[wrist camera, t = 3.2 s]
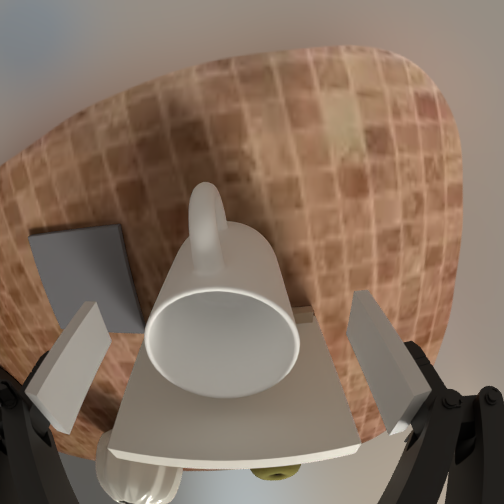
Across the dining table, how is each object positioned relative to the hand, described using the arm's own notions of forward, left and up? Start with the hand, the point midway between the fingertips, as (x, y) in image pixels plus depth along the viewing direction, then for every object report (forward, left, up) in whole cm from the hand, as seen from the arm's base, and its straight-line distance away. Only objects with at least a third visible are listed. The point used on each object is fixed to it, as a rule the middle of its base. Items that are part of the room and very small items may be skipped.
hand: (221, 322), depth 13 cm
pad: (-14, -3, -10) cm, 18 cm away
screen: (0, -9, -10) cm, 13 cm away
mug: (0, 0, -10) cm, 10 cm away
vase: (-17, -33, -10) cm, 39 cm away
